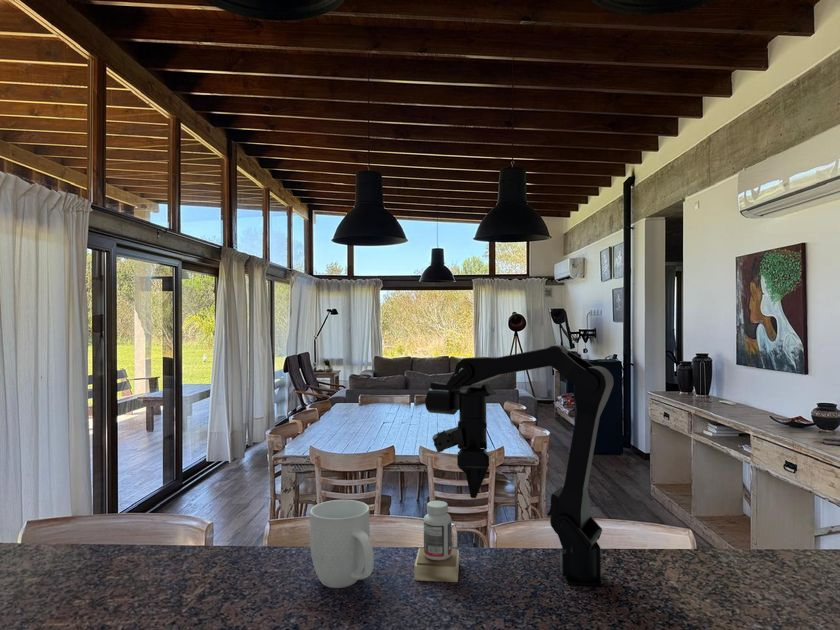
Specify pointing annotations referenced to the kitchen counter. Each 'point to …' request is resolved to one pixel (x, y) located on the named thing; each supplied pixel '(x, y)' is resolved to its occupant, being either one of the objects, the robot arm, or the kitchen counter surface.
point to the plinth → (436, 567)
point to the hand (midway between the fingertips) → (473, 491)
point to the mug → (341, 542)
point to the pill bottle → (437, 531)
